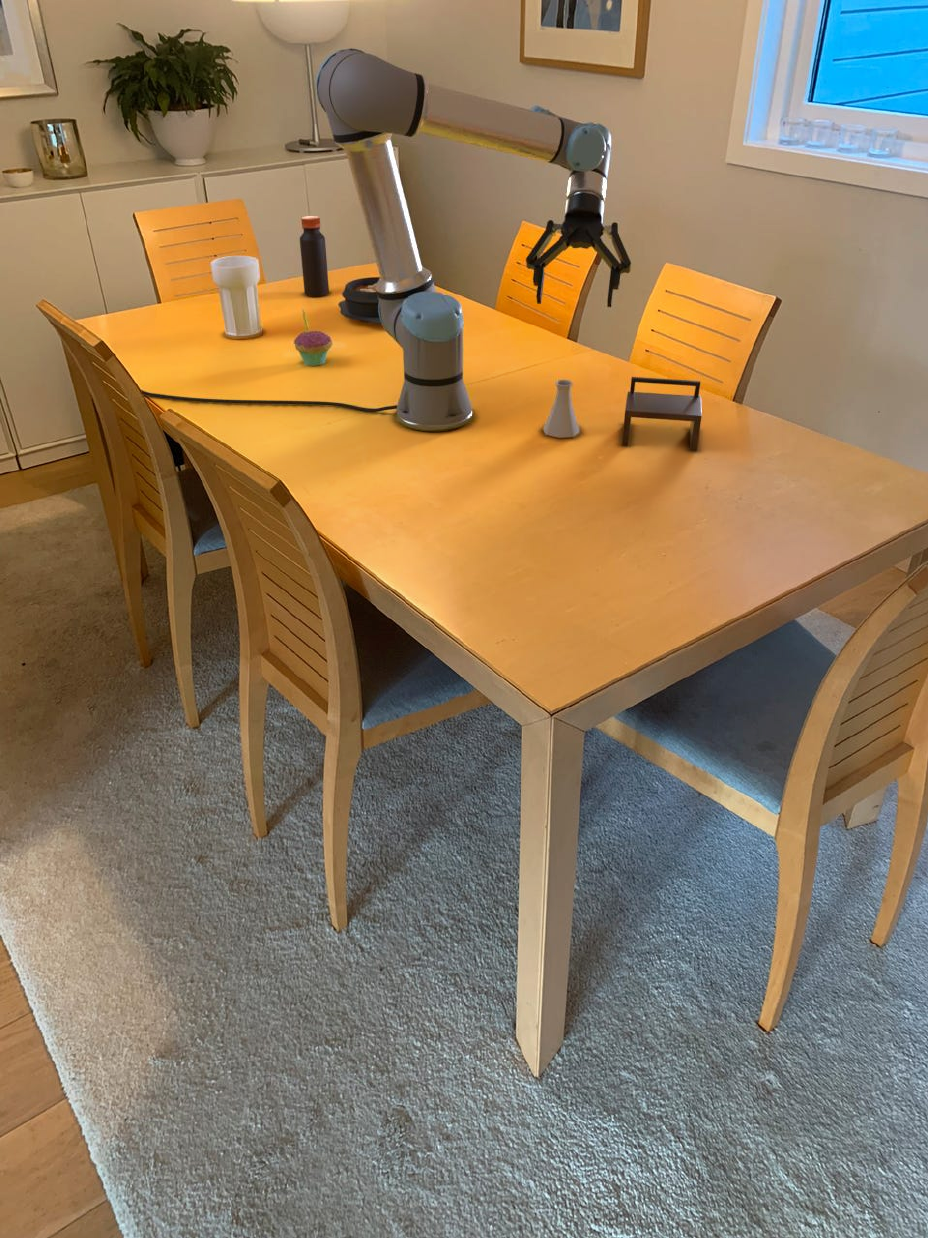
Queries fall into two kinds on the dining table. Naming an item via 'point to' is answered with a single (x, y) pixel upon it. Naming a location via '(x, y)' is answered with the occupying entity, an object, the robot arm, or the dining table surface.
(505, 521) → the dining table surface
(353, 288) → the casserole
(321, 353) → the cupcake
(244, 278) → the cup
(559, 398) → the flask
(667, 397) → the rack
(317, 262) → the bottle
